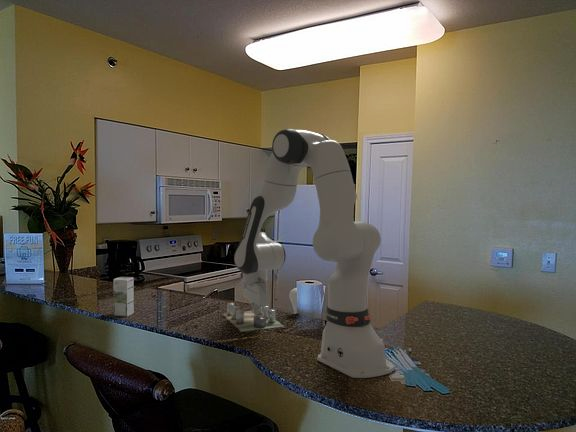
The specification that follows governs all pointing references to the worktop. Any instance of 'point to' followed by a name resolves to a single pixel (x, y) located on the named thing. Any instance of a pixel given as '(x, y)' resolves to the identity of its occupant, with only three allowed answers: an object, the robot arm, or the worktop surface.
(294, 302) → the lightbulb
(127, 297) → the syrup box
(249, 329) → the board
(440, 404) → the worktop surface
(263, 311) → the spacers
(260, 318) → the dark metal plug
